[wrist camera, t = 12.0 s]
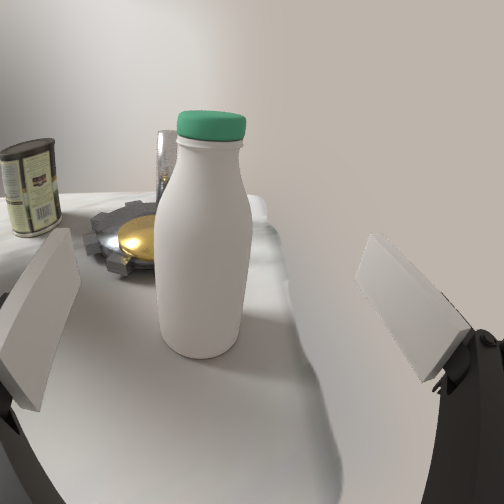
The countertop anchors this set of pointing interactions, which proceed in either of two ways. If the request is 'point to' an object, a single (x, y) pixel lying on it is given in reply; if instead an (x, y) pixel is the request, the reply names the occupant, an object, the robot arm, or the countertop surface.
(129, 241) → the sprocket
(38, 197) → the coffee can
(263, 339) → the countertop surface
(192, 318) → the milk bottle
